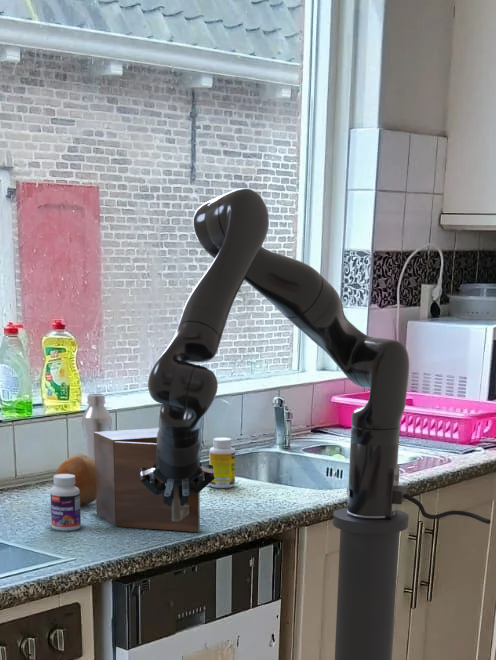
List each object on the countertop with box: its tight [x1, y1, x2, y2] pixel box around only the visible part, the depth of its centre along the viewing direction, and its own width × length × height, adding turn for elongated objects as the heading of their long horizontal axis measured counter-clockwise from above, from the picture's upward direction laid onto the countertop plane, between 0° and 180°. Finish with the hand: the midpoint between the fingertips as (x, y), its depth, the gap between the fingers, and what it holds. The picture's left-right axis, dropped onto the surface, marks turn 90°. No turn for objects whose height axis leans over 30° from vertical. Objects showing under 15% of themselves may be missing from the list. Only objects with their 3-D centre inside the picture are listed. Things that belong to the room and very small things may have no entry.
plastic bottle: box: [81, 392, 113, 461], centre depth 252 cm, size 6×7×20 cm
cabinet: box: [94, 427, 159, 527], centre depth 231 cm, size 10×16×16 cm, turn 118°
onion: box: [54, 453, 96, 507], centre depth 240 cm, size 10×10×10 cm
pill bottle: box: [49, 474, 82, 532], centre depth 222 cm, size 5×5×10 cm
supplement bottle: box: [208, 437, 236, 489], centre depth 260 cm, size 6×6×10 cm
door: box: [114, 441, 201, 533], centre depth 218 cm, size 8×16×16 cm, turn 77°
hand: (175, 501), depth 216 cm, fingers closed on door, 2 cm apart
